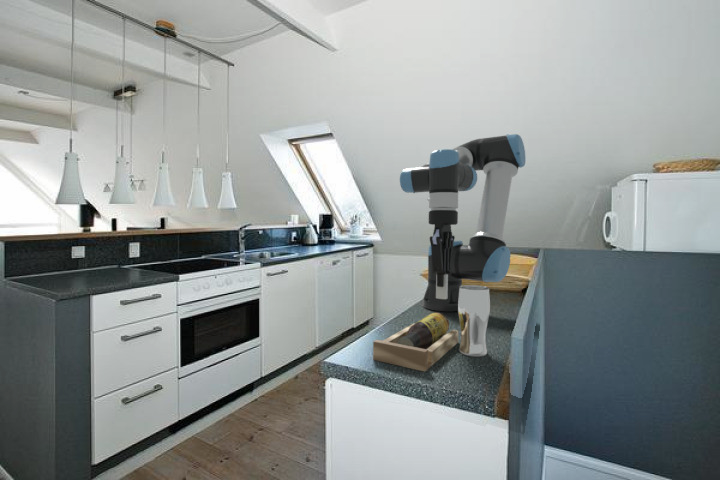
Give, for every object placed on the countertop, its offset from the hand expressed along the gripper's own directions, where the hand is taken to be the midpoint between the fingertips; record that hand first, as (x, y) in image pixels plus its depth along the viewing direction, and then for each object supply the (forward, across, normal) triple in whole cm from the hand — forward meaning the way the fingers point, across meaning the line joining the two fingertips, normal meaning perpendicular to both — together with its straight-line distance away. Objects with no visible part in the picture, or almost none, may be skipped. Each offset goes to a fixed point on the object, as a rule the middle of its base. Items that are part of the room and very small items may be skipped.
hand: (441, 298), depth 99 cm
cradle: (+10, +15, 0) cm, 18 cm away
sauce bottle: (+6, +2, 0) cm, 6 cm away
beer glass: (+10, +10, +11) cm, 18 cm away
